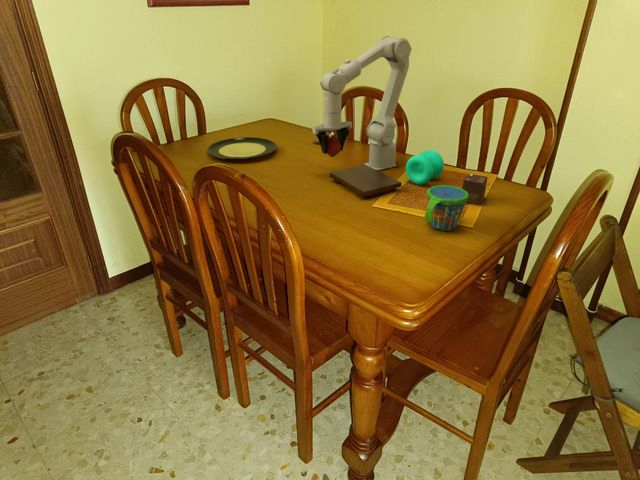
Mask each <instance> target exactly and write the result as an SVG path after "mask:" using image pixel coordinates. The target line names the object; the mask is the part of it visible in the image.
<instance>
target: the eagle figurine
mask: <svg viewBox="0 0 640 480" xmlns="http://www.w3.org/2000/svg"><path fill="white" fill-rule="evenodd" d="M326 134H327V135H329V138H330V137H331V134H333V136H334V137H335V138H337V133H336V131H329V132H326ZM313 143H315V144H320V142H319V140H318V139H317V140H315V141H314V142H313Z"/></svg>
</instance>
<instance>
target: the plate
mask: <svg viewBox="0 0 640 480" xmlns="http://www.w3.org/2000/svg"><path fill="white" fill-rule="evenodd" d="M277 148H278V145H277V144H276V142H275V141H272V140H271V139H267V138H262V137H255V136H253V137H251V136H250V137H249V136H242V137H240V136H239V137H233V138H232V137H231V138H226V139H221V140H219V141H215V142H214V143H211V144H210V145H209V146H208V147H207V148H206V153H207V154H208V155H210V156H212V157H215V158H218V159H221V160H229V161H244V160H245V161H246V160H253V159H258V158H262V157H265V156H267V155H270V154H271V153H273V152H275V151H276V150H277Z"/></svg>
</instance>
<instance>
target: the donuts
mask: <svg viewBox="0 0 640 480" xmlns="http://www.w3.org/2000/svg"><path fill="white" fill-rule="evenodd" d="M444 168H445V162H444V159H443V157H442V155H441V154H440V153H439V152H438V151H436V150H433V149H427V150H424V151H422V152H421V153H420V154H416V155H413V156H411V157H409V159H408V160H407V162H406V164H405V173H406V175H407V178H408V180H409V181H411V182H412V183H414V184H416V185H425V184H427V183H429V182H430V181H431V180H434V179H437V178H439V177H440V176H441V175H442V174H443V172H444Z"/></svg>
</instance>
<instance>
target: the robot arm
mask: <svg viewBox="0 0 640 480" xmlns="http://www.w3.org/2000/svg"><path fill="white" fill-rule="evenodd" d="M411 52H412V46H411V45H410V42H409V40H408V39H407V38H406V37H405V38H404V37H394V36H389V35H385V36H383V37H381V38H380V39H378V40H376V43H375V44H374V45H373V46H371V47H370V48H369V49H368V50H367V51H365V52H364V53H362V54H361V55H360V56H359V57H358V58H356V59H353V58H350V59H346V60H344V63H343V64H341V65H340V66H338V67H337V68H336V67H335V68H334V69H333V70H332V72H326V73H325V74H324V75H323V76H322V79H321V81H320V82H319V84H320V85H319V86H320V87H321V89H322V91H323V123H322V124H321V125H317V126H314V127H312V134H313V135H315V137H316V138H317V140H319V145H320V148H321V153H323V154H324V155H328V154H327V144H328V138H329V135H327V134H326V132H329V131H330V132H336V133H337V134H336V138H337V139H338V140H339V142H340V144H341V150H340V152H342V151H343V150H344V146H345V143H346V140H347V138H348V136H349V134H350V130H349V129H353V122H352V121H342V92H344V90H345V88H346V86H347V85H348V84H349V83H351V82H352V81H353V80H355V79H356V78H358V77H359V76H361V74H362V69H364V68H367V67H368V66H369V65H371V64H373V63H374V62H375V61H377V60H379V59H381V58H383V59H385V60H386V62H388V64H389V66H390V73H389V76H388V78H387V82H386V86H385V89H384V92H383V95H382V99H381V102H380V104H379V105H380V106H379V108H378V112H377V113H376V114H375V115H374V116H373V117H372V118H371V121H370V123H369V124H368V125H367V127H366V136H367V137H368V141H369V153H368V157H369V158H368V161H367V162H364V163H363V165H367V166H369V167H371V168H373V169H375V170H378V171H381V170H382V171H383V170H387V169H390V168H394V167H397V164H396V157H397V156H396V155H397V146H396V144H395V142H394V140H395V136H396V133H395V131H396V127H397V125H396V122H395V120H394V116H395V113H396V109H397V106H398V103H399V99H400V96H401V93H402V90H403V87H404V83H405V80H406V77H407V75H408V72H409V67H410V55H411Z"/></svg>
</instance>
